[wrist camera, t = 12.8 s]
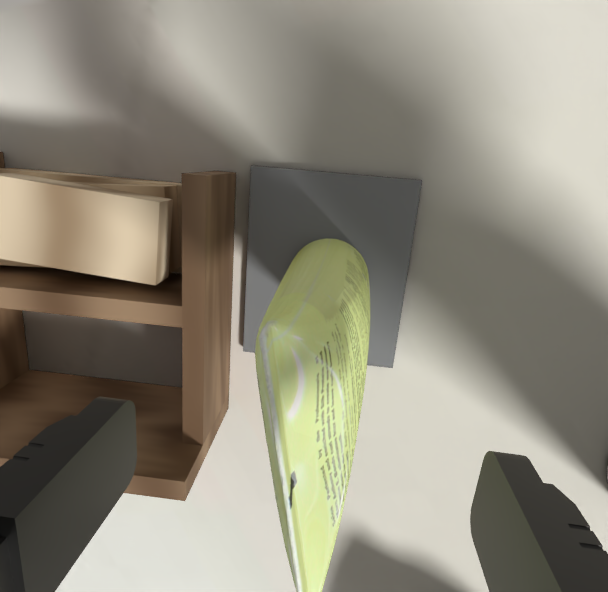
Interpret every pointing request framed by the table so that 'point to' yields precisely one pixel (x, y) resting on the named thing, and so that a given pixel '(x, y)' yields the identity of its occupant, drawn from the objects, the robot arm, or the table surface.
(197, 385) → the rack
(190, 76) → the table surface
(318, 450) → the tube
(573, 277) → the table surface
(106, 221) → the offcut stack
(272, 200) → the mat
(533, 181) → the table surface
